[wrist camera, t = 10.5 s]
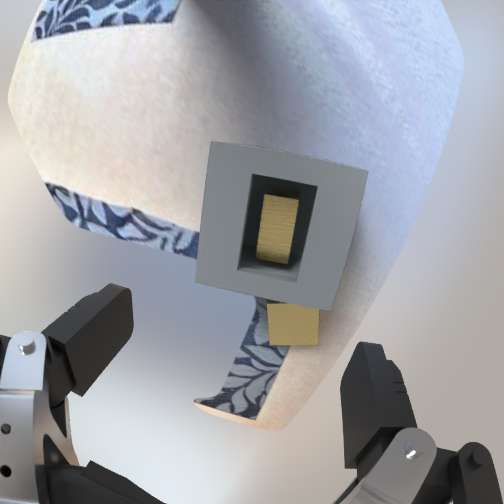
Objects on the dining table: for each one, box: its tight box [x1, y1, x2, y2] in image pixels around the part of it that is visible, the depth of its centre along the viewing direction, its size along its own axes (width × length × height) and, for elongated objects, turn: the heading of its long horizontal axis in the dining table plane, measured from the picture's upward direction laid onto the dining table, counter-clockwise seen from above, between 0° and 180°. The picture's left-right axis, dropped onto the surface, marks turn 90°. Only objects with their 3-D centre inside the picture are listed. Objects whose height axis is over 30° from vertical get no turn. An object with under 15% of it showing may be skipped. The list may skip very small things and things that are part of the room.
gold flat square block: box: [256, 186, 299, 264], centre depth 28 cm, size 6×3×6 cm
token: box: [267, 299, 319, 345], centre depth 35 cm, size 6×6×3 cm
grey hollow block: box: [195, 142, 368, 311], centre depth 27 cm, size 12×12×10 cm
